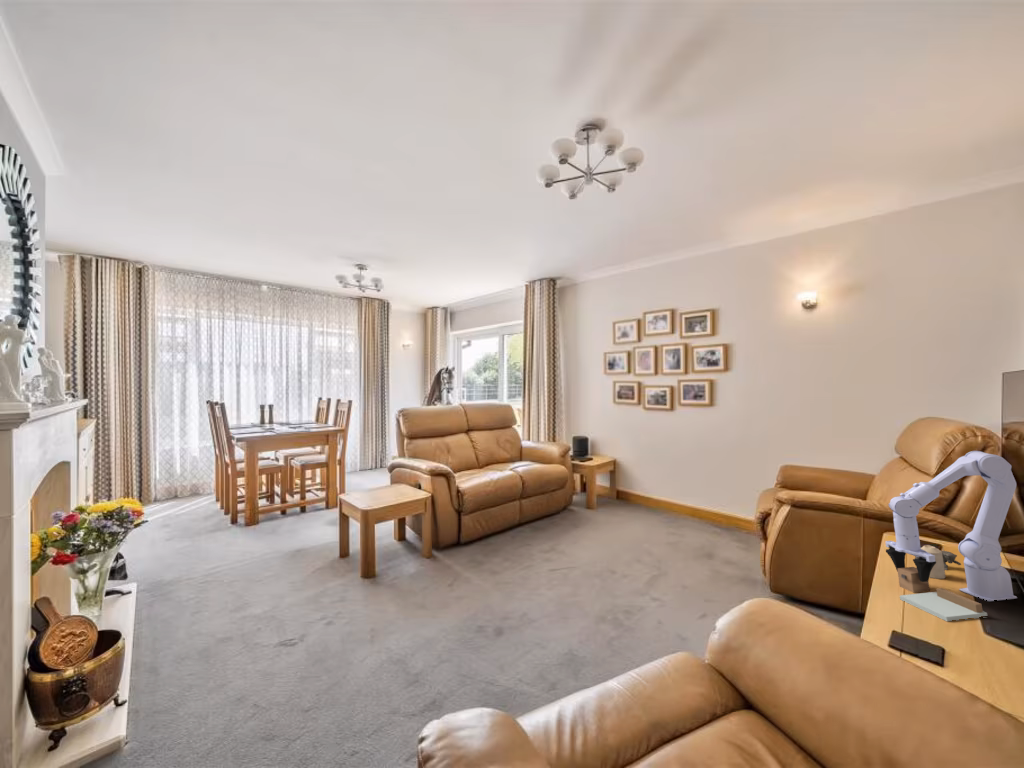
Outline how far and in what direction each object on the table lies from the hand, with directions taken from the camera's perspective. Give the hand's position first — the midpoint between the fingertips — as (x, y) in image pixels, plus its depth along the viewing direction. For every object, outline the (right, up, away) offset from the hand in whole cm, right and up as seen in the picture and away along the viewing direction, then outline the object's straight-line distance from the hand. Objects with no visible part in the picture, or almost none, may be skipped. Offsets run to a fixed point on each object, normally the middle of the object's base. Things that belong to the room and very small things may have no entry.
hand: (912, 576), depth 135 cm
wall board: (-4, -3, -13) cm, 14 cm away
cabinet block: (0, -4, 0) cm, 4 cm away
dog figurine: (+22, -3, +14) cm, 26 cm away
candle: (+15, -3, +7) cm, 17 cm away
